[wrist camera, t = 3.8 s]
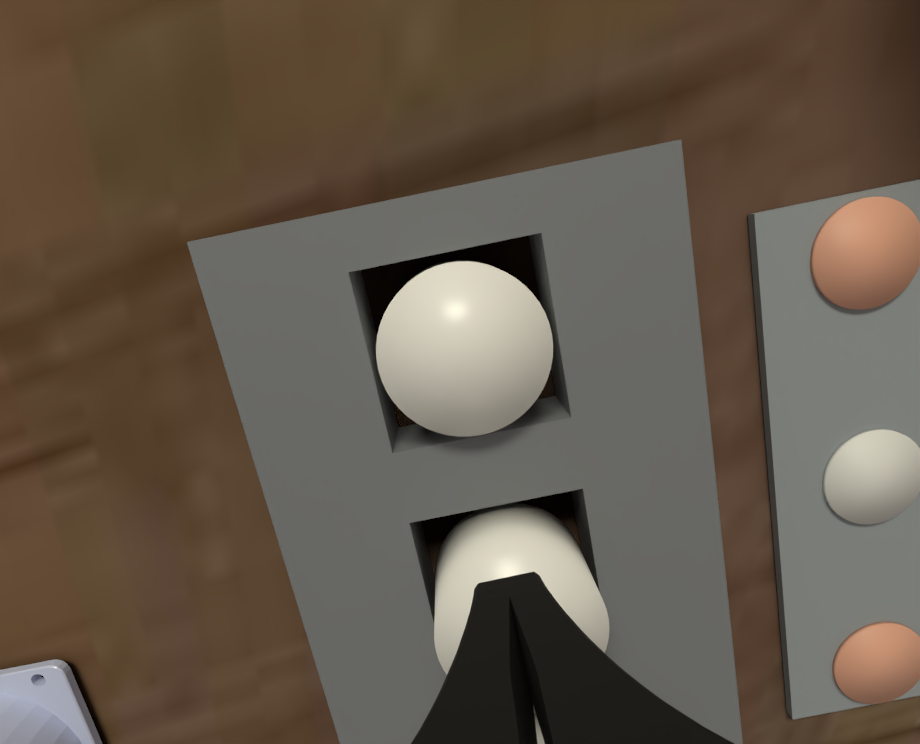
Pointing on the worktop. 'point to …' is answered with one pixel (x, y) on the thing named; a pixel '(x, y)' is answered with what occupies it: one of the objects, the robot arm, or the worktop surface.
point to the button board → (493, 454)
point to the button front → (464, 348)
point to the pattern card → (843, 441)
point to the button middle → (512, 570)
